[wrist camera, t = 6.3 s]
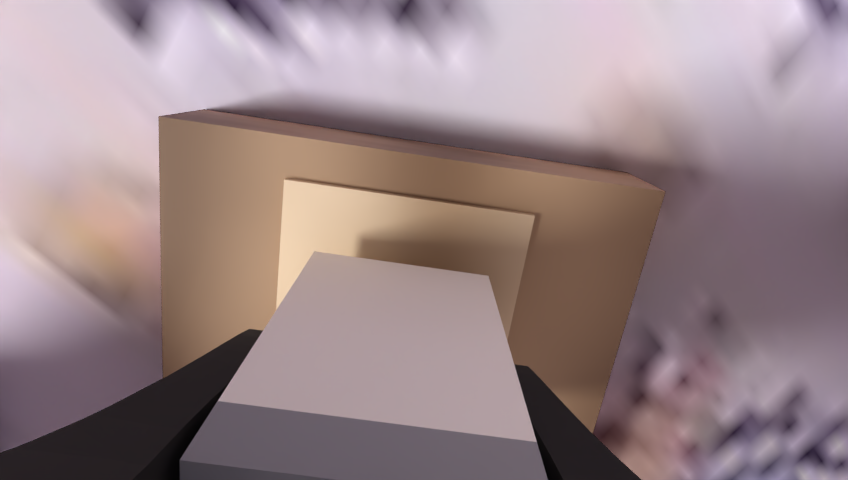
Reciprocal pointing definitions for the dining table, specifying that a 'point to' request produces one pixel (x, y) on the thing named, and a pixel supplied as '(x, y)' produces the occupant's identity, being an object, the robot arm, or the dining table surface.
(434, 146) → the board
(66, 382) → the dining table surface
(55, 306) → the dining table surface
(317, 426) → the plug
